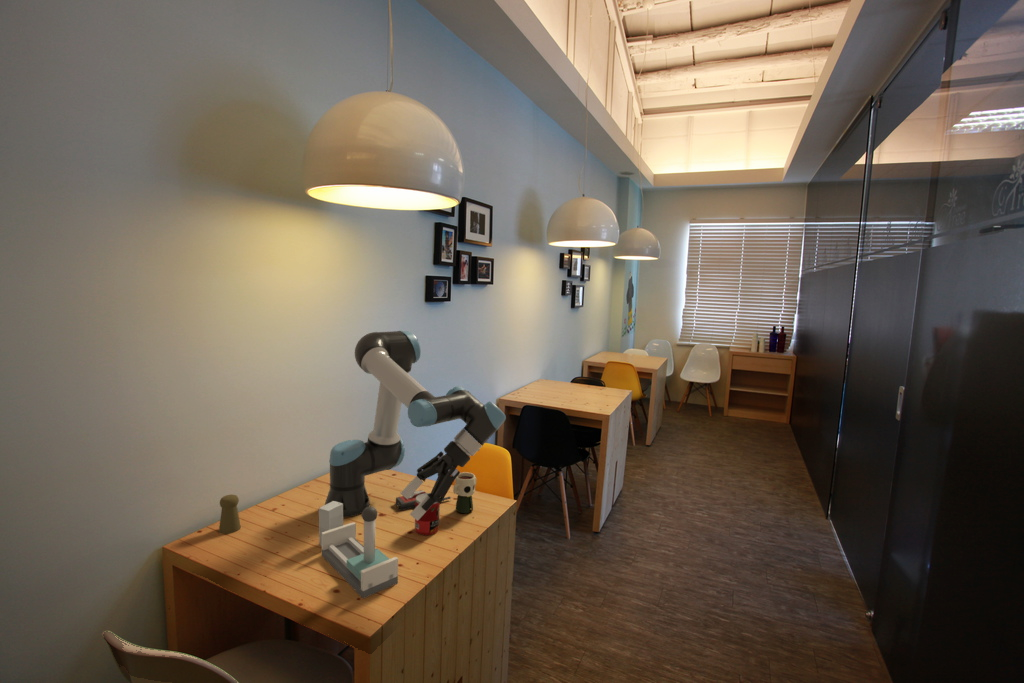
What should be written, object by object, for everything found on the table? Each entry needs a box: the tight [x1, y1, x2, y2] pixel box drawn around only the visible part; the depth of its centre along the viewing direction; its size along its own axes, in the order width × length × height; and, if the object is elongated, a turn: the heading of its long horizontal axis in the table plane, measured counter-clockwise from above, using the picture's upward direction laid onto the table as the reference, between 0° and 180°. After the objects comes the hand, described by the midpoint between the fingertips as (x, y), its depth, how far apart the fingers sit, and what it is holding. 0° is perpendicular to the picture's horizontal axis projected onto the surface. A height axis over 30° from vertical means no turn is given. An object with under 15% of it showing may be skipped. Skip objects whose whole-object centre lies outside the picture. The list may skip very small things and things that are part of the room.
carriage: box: [347, 505, 390, 581], centre depth 128 cm, size 8×9×17 cm
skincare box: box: [318, 501, 344, 547], centre depth 146 cm, size 6×4×12 cm
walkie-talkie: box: [395, 489, 452, 511], centre depth 176 cm, size 9×4×20 cm
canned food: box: [414, 492, 441, 536], centre depth 156 cm, size 8×8×11 cm
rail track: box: [321, 521, 399, 599], centre depth 133 cm, size 26×10×7 cm, turn 44°
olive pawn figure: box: [218, 494, 242, 535], centre depth 151 cm, size 6×6×11 cm
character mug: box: [452, 471, 477, 514], centre depth 171 cm, size 11×7×13 cm, turn 139°
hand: (408, 506), depth 131 cm, fingers open, 13 cm apart
